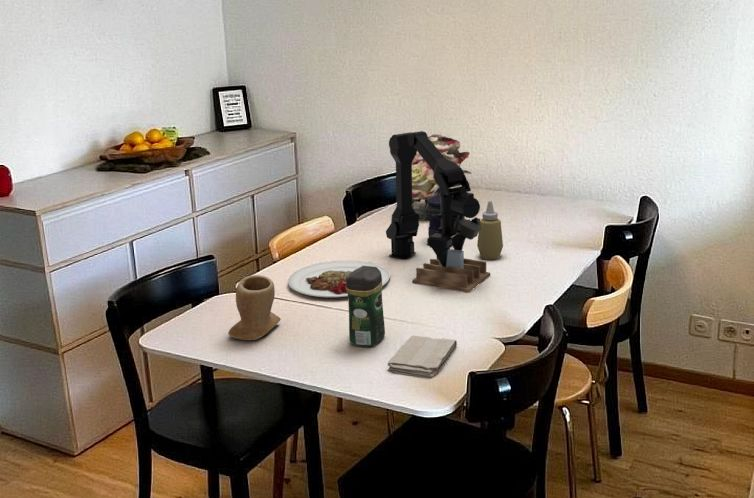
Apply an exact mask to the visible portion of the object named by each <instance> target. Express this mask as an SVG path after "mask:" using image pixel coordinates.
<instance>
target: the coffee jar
mask: <svg viewBox="0 0 754 498" xmlns="http://www.w3.org/2000/svg"><path fill="white" fill-rule="evenodd" d="M346 290H347V294H348V296H347V300H348V301H347V302H348V331H349V332H348V333H349V335H348V336H349V338H348V339H349V342H350V344H352V345H355V346H357V347H360V348H361V347H364V348H365V347H374V346H376V345H377V344H379V343H380V342H381V340H383V339H384V337H385V335H386V330H385V329H386V328H385V317H384V307H383V306H384V305H383V286H382V276H381V271H380V270H379V269H378V268H377V267H372V266H361V267H360V268H358V269H356V270H354V271H353V272H352V273H350V274H349V275H348V276H347V277H346Z"/></svg>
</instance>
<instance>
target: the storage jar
mask: <svg viewBox="0 0 754 498" xmlns="http://www.w3.org/2000/svg"><path fill="white" fill-rule="evenodd" d="M440 213H441V208H440V196H434V197H431V198H429V199H428V216H429V221H428V224H429V225H428V229H427V231H428V232H427V233H428V238H429V237H430V236H431V235H433V234H435V233H438V234H443V233H442V232H438V228H440V227H441V218H438V214H440ZM451 245H452V247H453V244H451Z"/></svg>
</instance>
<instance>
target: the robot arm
mask: <svg viewBox="0 0 754 498" xmlns="http://www.w3.org/2000/svg"><path fill="white" fill-rule="evenodd" d="M428 137H429V136H428V134H427V132H426V131H423V130H421V131H413V132H411V131H410V132H402V133H397V134H393V135H391V137H390V138H389V140H388V146H389V153H390V155H391V157H392V159H393V160H394V162H395V193H396V198H395V199H396V201H395V202H396V207H395V208H394V211H393V213H392V214H391V220H390V225H389V226H388V227H387V229H386V230H385V235H386V238H387V239H390V240H391V241H390V245H391V253H390V254H388V255H389V256H388V257H390V258H394V259H402V260H408V259H409V258H411V257H412V256H414V255H416V254H417V252H416V251H415V241H414V238H413V237H418V236H417V235H418V231H419V227H420V220H419V215H418V213H416V212H415V211H414V209H415V208H414V207H412V206H413V204H412V161H413V159H414V158H415V156H416V154H418V153H419V154H420V155H421V156H422V158H423V159H424V160H425V161H426V163H427V164H428V165H429V166H430V167H431V169H432V170H433V178H434V180H435V181H436V183H437V184H438V186H439V187H440V188H438V189H437V190H436V192H437V193H440V208H441V213H440V214H438V218H441V227H440V228H438V232H442V233H443V234H438V233H435V234H433V235H431V236H430V237H429V236H428V238H427V239H426V245H427V246H428V247H429V248H431V249H432V250H433V252H434V254H435V256H436V258H437V257H438V259H439V261H440V263H441V265H442V266H443V267H446V264H447V255H448V250H449V249H452V247H453V250H460V251H463V249H464V245H465V242H466V239H468V240H474V238H476V237H477V238H478V232H479V230H481V224H480V220H481V219H480V218H478V216H477V215H478V214H479V213H480V210H481V209H480V208H481V204H480V201H479V200H478V199H477V198H476V197H475V194H474V193H473V192H471V191H472V188H471V187H470V183H469V181H468V179H467V177H466V173H464V172H463V170H464V169H463V168H462V167H461V165H460V166H458V165H457V164H456V163H455V162H452V161H450V160H447V159H446V158H445V157H444V156H443V155H442V154H441V152H440V151H439V150H438V149H437V148H436V147H435V145H434V144H433V143H432V142H431V141H430V139H429V138H428ZM476 216H477V217H476ZM451 244H453V246H452V245H451Z"/></svg>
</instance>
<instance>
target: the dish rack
mask: <svg viewBox="0 0 754 498" xmlns="http://www.w3.org/2000/svg"><path fill="white" fill-rule="evenodd" d="M422 267H423V268H422ZM422 267H416V268H415V273H416V274H415V275H416V276H415V278H413V279H412V281H411V282H412V284H415V285H421V286H427V287H432V288H433V287H434V288H439V289H446V290H449V291H456V292H461V291H462V292H463V293H467V292H469V293H471V292H472V291H473V290H474V289H475V288H477V287H478V286H479V285H481V284H482V283H483V282H484V281H486V280H487V279H488V278H490V277H491V272H489V271H487V261H484V260H478V259H472V258H465V257H464V269H459V268H453V267H443V266H440V265H439V259H438V257H437V256H436V259H434V258H430V259H429V263H426V262H423V264H422ZM489 276H490V277H489ZM485 279H486V280H485ZM481 282H482V283H481ZM478 284H479V285H478ZM477 285H478V286H477ZM476 286H477V287H476ZM473 288H474V289H473ZM472 289H473V290H472Z"/></svg>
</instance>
